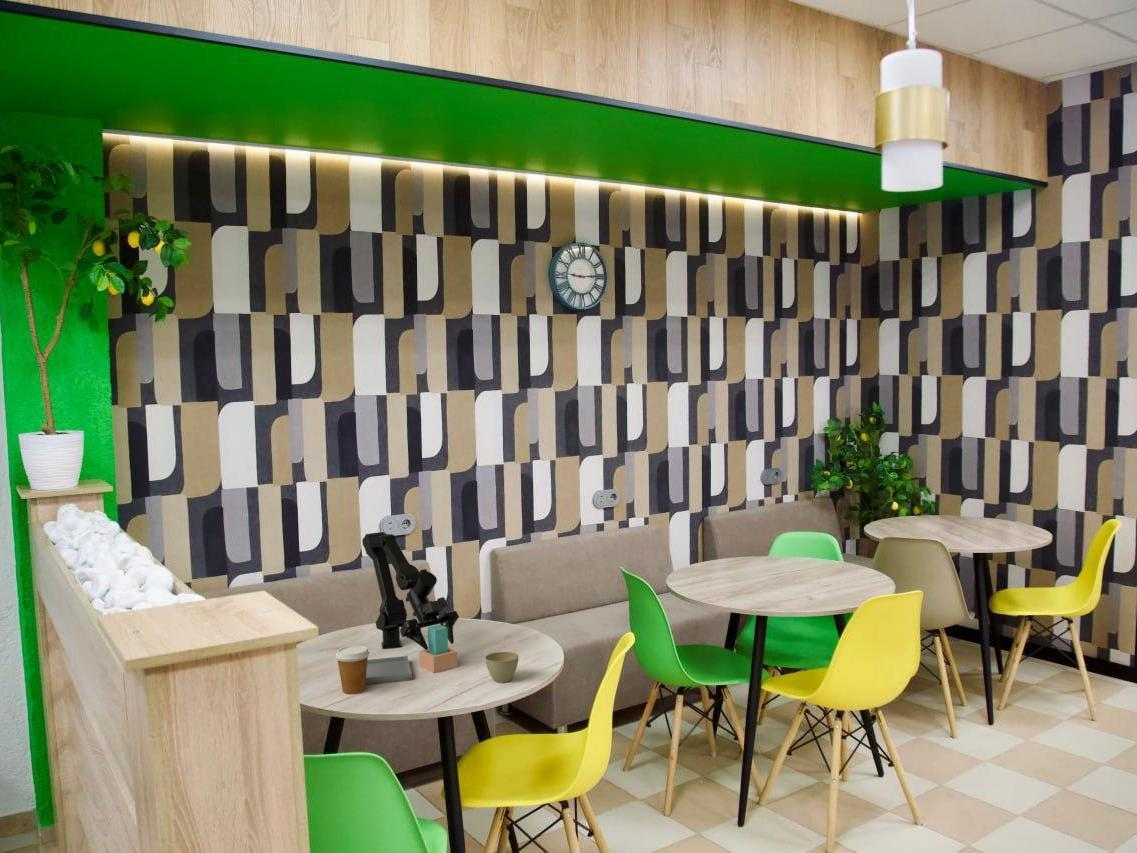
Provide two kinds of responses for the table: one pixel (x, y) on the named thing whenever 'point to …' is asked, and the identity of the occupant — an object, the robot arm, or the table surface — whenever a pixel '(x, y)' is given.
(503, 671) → the flower pot
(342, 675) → the disposable coffee cup
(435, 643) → the teal block
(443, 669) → the holder
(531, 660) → the table surface
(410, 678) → the tray
